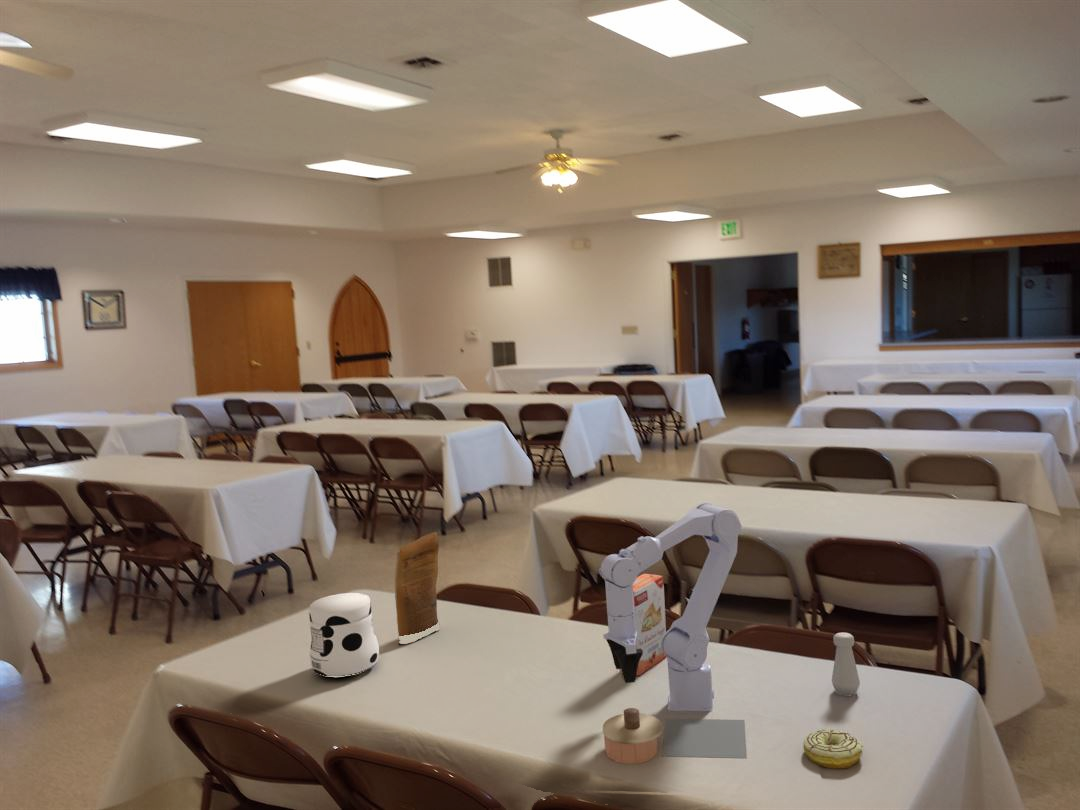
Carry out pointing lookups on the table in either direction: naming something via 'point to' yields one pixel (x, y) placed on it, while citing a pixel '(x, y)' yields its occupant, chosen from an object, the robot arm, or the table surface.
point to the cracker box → (649, 619)
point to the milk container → (342, 635)
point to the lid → (632, 727)
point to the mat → (704, 738)
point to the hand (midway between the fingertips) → (625, 675)
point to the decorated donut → (832, 748)
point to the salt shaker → (845, 665)
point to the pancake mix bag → (417, 585)
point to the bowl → (630, 751)
